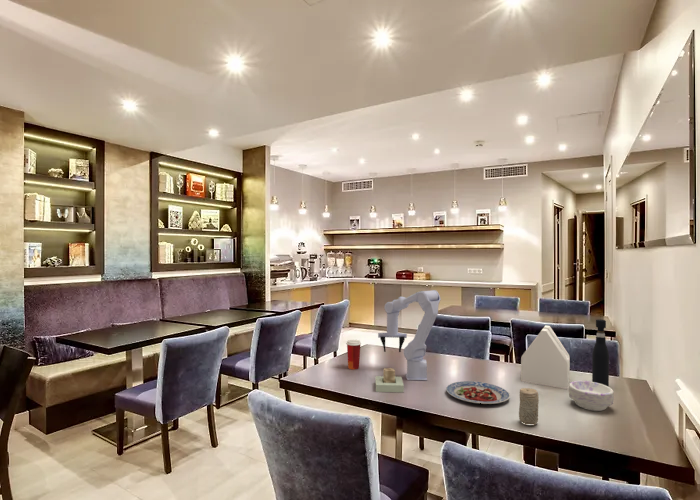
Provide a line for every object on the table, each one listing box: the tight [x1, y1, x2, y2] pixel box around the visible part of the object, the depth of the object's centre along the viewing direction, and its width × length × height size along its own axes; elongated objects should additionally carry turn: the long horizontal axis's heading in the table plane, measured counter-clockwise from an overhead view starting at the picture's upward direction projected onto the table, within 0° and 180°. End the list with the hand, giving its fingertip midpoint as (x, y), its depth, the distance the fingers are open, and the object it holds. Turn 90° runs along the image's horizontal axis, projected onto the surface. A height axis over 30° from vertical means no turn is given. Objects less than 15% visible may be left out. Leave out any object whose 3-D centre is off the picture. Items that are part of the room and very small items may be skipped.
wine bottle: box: [591, 319, 610, 387], centre depth 182 cm, size 6×6×30 cm
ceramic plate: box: [445, 380, 511, 405], centre depth 169 cm, size 26×26×3 cm
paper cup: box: [345, 339, 362, 371], centre depth 207 cm, size 8×8×14 cm
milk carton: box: [520, 325, 571, 390], centre depth 189 cm, size 19×15×25 cm
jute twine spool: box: [518, 387, 540, 425], centre depth 142 cm, size 6×8×12 cm
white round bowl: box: [568, 380, 615, 412], centre depth 158 cm, size 15×15×8 cm
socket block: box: [374, 375, 405, 393], centre depth 178 cm, size 12×12×3 cm
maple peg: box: [382, 367, 396, 383], centre depth 178 cm, size 4×4×8 cm
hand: (392, 351), depth 204 cm, fingers open, 7 cm apart
